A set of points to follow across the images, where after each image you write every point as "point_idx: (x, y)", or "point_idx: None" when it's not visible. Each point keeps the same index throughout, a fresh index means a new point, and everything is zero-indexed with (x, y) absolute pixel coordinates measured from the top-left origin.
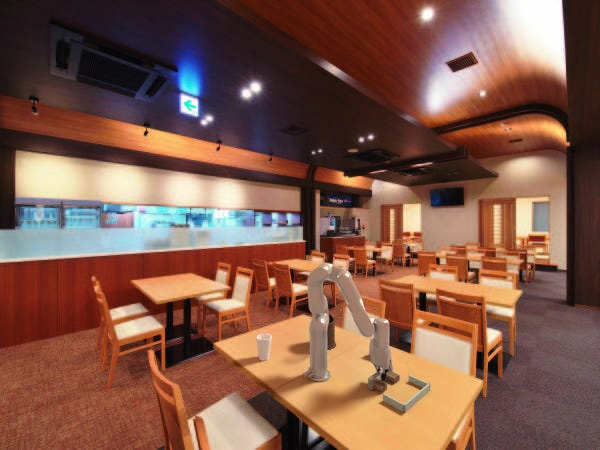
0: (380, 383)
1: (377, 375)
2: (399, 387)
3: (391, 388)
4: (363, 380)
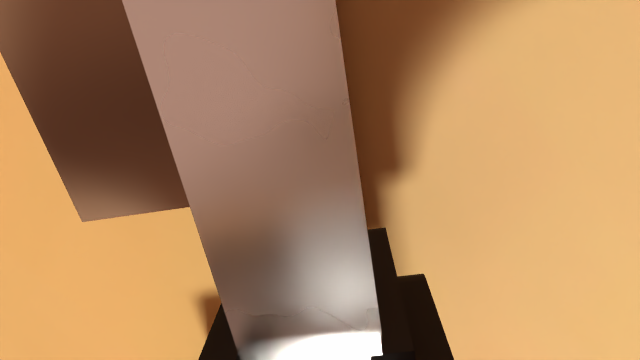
0: (133, 104)
1: (221, 186)
2: (123, 339)
3: (141, 246)
4: (583, 16)
